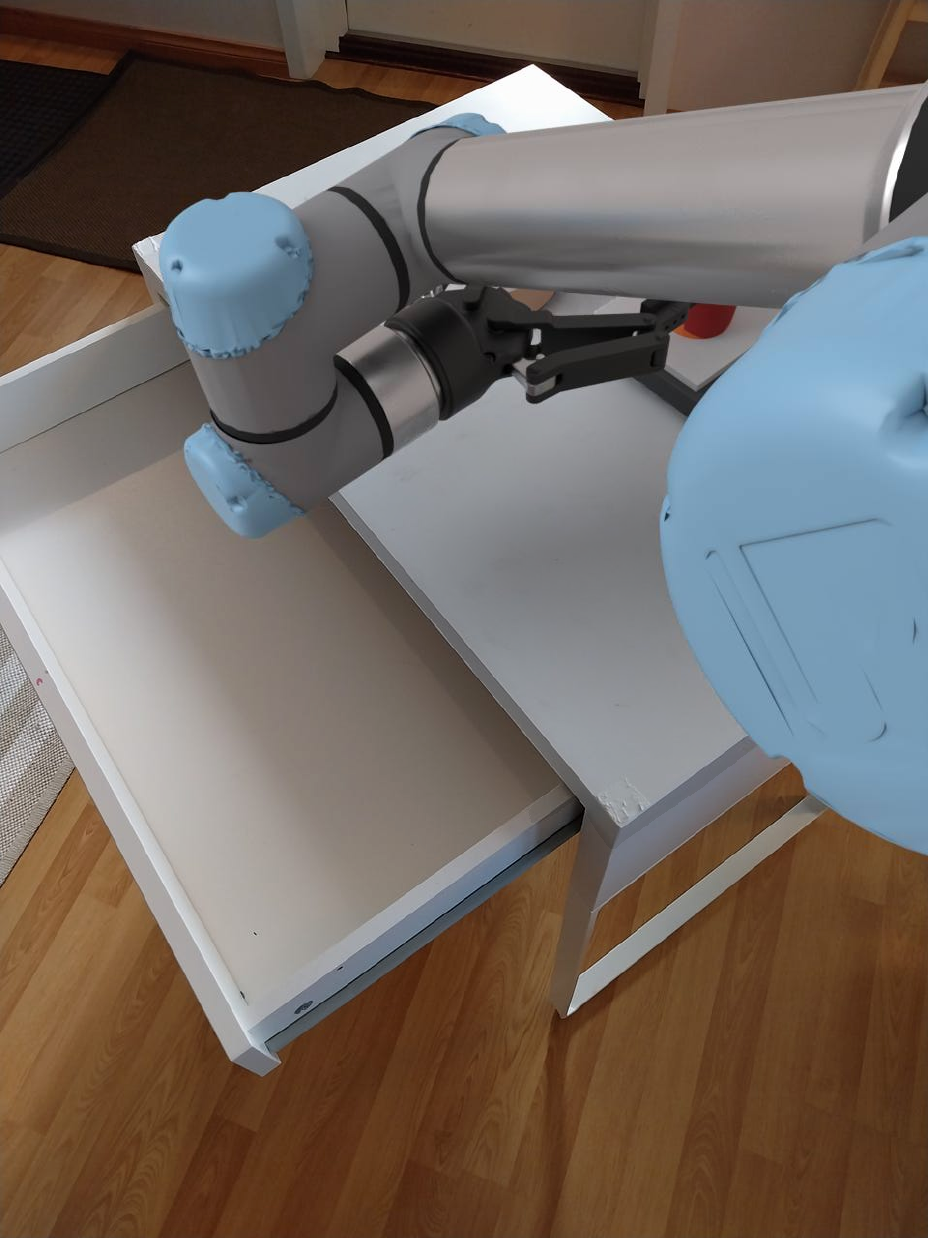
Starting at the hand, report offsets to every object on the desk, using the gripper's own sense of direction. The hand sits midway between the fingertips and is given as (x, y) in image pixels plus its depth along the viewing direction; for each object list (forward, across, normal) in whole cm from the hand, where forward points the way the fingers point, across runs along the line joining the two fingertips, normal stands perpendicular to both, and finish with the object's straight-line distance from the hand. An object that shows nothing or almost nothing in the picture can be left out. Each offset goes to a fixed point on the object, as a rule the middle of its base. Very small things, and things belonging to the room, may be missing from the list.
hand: (638, 232), depth 68 cm
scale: (+9, 0, -16) cm, 19 cm away
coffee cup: (+9, 0, -13) cm, 16 cm away
